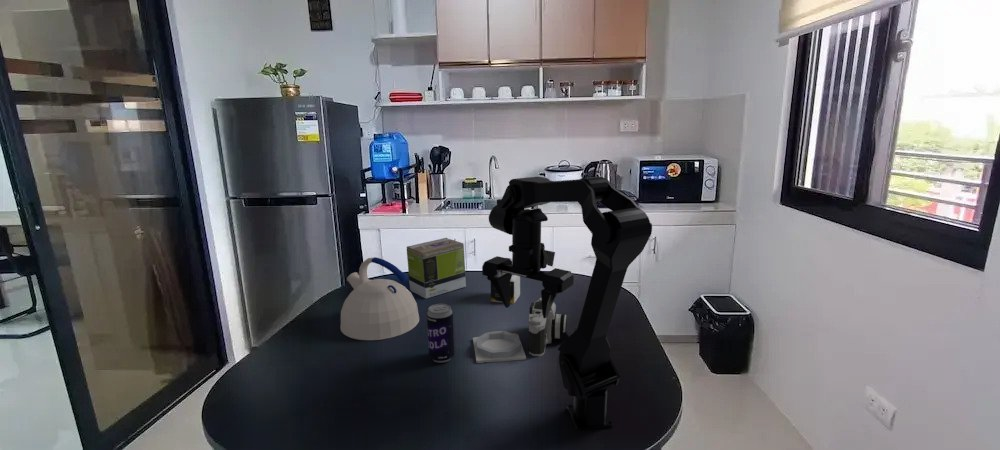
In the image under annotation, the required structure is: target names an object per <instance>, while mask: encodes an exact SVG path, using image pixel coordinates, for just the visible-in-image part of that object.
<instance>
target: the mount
mask: <svg viewBox="0 0 1000 450" xmlns="http://www.w3.org/2000/svg"><path fill="white" fill-rule="evenodd" d="M472 343H473V349H474V354H475V362H476V364H484V362H487V363H496V362H509V361H522V360H527V356H526V353H525V350H524V347H523V345H522V342H521V338H520V336H519V334H518V333H516V332H515V333H514V332H509V331H506V330H500V331H499V330H497V331H487V332H485V333H483V334H481V335H480V336H477V337H476V336H475V337H472Z"/></svg>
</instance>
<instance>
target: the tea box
mask: <svg viewBox="0 0 1000 450" xmlns="http://www.w3.org/2000/svg"><path fill="white" fill-rule="evenodd" d="M464 247H465V246H464V242H461V241H456V240H454V239H451V238H448V237H444V238H439V239H436V240H431V241H426V242H422V243H417V244H412V245H409V246H408V245H407V246H406V259H407V267H408V268H407V270H408V271H407V272H408V282H409V283H408V284H409V291H410V292H411V293H414V294H417V296H420V297H422V298H423V299H425V300H427V299H430V298H433V297H435V296H436V297H437V296H440V295H443V294H446V293H449V292H453V291H456V290H459V289H462V288H466V287H467V282H466V281H467V280H466V279H467V278H466V277H467V276H466V259H465V248H464Z"/></svg>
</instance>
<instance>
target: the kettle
mask: <svg viewBox="0 0 1000 450" xmlns="http://www.w3.org/2000/svg"><path fill="white" fill-rule="evenodd" d="M371 263H373V264H377V265H379V266H381V267H383V268H385V269H386V270H389V272H390V273H392V274H393V275H395V276H396V278H397V279H398V280H399V281H400V282H401V283H403V282H406V281H409V277H407V276H406V273H404V272H403V271H402V270H401V269H399V268H398V267H397V266H396V265H394V264H392V263H391V262H389V261H388V260H385V259H383V258H380V257H375V256H374V257H368V258H366V259H365V260H363V261H362V263H361V264H360V265H359V266H360V267H359V270H358V272H356V271H355V272H352V273H350V274H349V275H348V276H347V278H346V281H347V282H348V283H349V284H350V285H351V287H352V288H353V290H351V292H350V293H349V294H348V296H347V297H346V298H345V300H344V302H343V304H342V308H341V310H340V332H341V333H342V334H343V335H345V336H346V337H348V338H351V339H354V340H359V341H381V340H388V339H393V338H395V337H396V338H397V337H399V336H402V335H404V334H406V333H408V332H410V331H411V330H413V329H414V328H415V327H416V326H417V325H418V324H419V322H420V315H419V309H418V303H417V302H416V300H415V297H414V295H413V294H412V291H411V290H410V289H409V290H408V289H407V287H406V286H404V285H403V284H401V283H399V282H398V281H396V280H393V279H386V278H376V279H375V278H374V279H369V277H368V267H369V265H370V264H371Z"/></svg>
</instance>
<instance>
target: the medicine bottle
mask: <svg viewBox="0 0 1000 450" xmlns="http://www.w3.org/2000/svg"><path fill="white" fill-rule="evenodd" d="M507 258H508V259H510V260H511V261H512V258H510V257H507ZM520 296H521V276H516V275H512V277H511V280H510V305H511V304H513V305H514V304H515V303H516V302H517V300H518V298H519V297H520ZM490 302H494V303H502V304H504V303H503V302H502V300H501V298H500V296H499V294H498V292H497V290H496V289H495V287H494V286H493V284H492V282H491V281H490Z"/></svg>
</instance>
